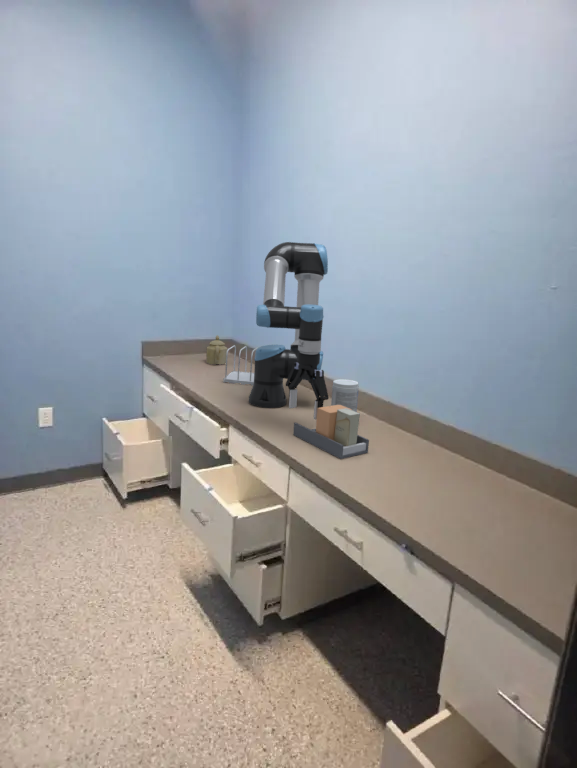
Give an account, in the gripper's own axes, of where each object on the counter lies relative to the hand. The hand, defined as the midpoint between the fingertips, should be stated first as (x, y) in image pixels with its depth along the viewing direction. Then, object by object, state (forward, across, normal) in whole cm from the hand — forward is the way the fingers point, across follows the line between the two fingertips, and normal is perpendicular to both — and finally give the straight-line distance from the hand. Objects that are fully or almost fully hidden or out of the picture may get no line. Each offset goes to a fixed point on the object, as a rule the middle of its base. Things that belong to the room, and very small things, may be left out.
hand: (304, 413), depth 180 cm
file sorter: (+8, -67, +24) cm, 72 cm away
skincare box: (+5, +22, -1) cm, 22 cm away
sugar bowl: (+8, -107, +27) cm, 111 cm away
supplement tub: (+7, -2, +20) cm, 22 cm away
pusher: (+5, +16, -1) cm, 16 cm away
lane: (+6, +14, -1) cm, 16 cm away
